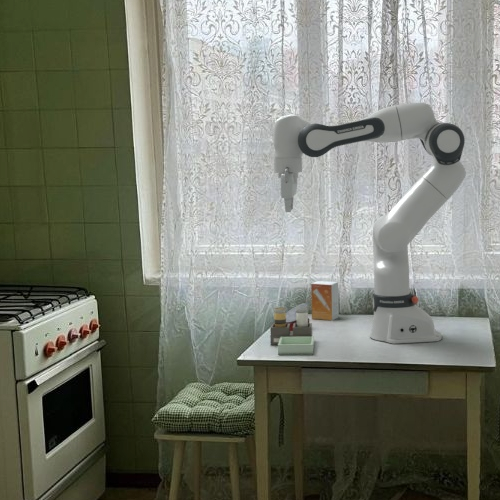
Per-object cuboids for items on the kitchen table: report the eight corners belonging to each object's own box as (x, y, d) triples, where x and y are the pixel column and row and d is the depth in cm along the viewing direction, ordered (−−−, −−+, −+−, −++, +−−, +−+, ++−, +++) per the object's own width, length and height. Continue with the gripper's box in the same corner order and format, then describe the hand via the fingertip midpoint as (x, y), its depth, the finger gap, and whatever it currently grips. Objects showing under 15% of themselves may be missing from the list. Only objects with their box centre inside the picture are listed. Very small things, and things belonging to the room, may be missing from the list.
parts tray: (314, 345, 259) (313, 336, 259) (312, 354, 249) (312, 344, 248) (280, 346, 260) (280, 336, 260) (278, 354, 250) (277, 344, 250)
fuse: (308, 331, 265) (307, 307, 264) (308, 334, 262) (307, 309, 261) (297, 331, 266) (296, 307, 265) (296, 334, 262) (295, 309, 261)
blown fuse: (286, 331, 266) (285, 307, 265) (286, 334, 263) (285, 309, 262) (275, 332, 267) (274, 307, 266) (274, 334, 263) (273, 309, 262)
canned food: (306, 343, 282) (306, 321, 276) (277, 339, 285) (276, 317, 279) (313, 322, 291) (313, 300, 285) (285, 318, 293) (284, 296, 288)
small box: (311, 319, 298) (310, 283, 296) (318, 315, 304) (317, 280, 302) (332, 320, 294) (331, 284, 293) (339, 317, 300) (338, 281, 298)
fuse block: (312, 340, 267) (312, 323, 266) (311, 344, 261) (311, 327, 260) (272, 340, 268) (271, 323, 268) (270, 344, 262) (270, 327, 262)
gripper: (296, 167, 251) (297, 213, 253) (299, 165, 272) (300, 207, 273) (275, 168, 252) (276, 213, 254) (280, 166, 272) (281, 208, 274)
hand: (289, 210), depth 264 cm, fingers open, 8 cm apart
